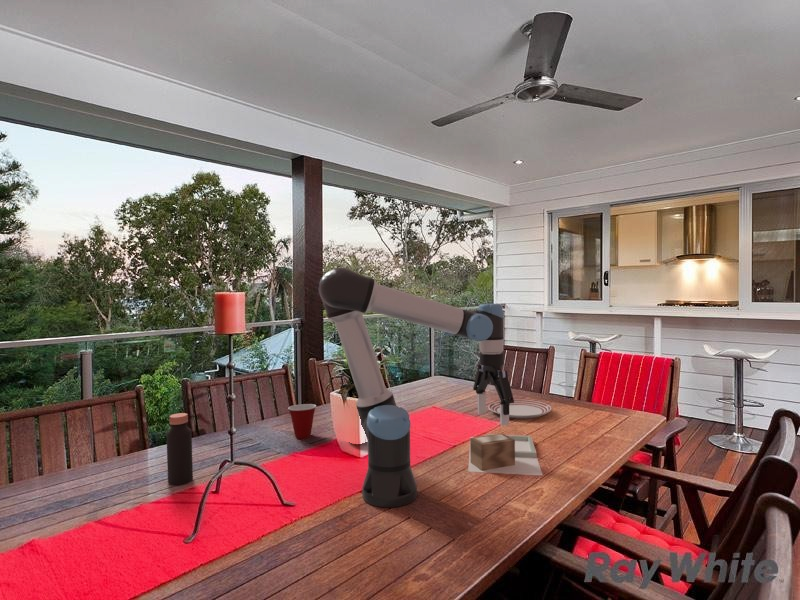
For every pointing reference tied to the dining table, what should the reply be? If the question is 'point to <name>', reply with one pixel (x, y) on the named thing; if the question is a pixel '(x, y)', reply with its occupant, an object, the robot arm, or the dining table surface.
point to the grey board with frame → (517, 459)
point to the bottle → (179, 450)
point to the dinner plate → (523, 409)
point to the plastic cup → (302, 419)
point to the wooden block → (492, 451)
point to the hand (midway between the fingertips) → (492, 418)
